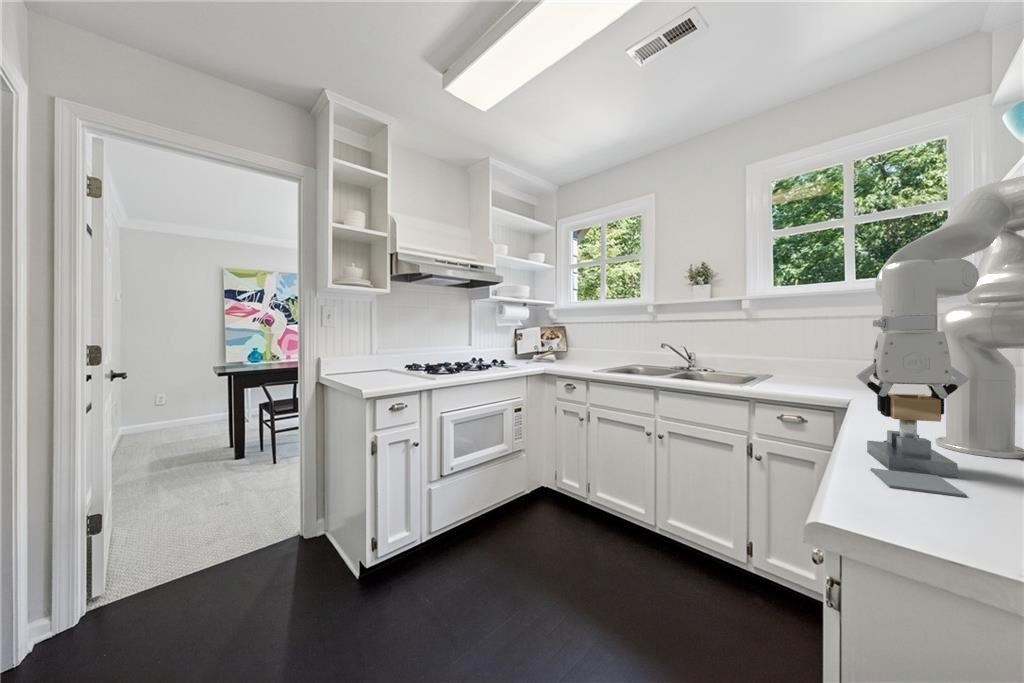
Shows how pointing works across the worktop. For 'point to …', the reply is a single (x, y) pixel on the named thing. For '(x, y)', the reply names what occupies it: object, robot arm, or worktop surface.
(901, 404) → the collar
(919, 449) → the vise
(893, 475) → the mat
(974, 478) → the worktop surface
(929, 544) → the worktop surface
